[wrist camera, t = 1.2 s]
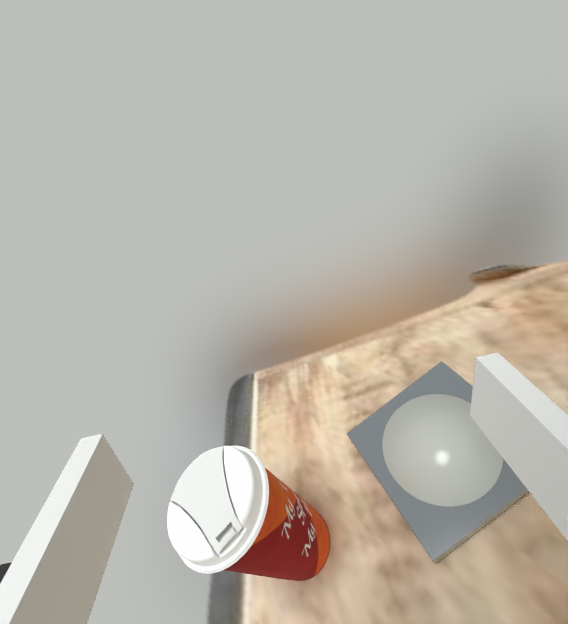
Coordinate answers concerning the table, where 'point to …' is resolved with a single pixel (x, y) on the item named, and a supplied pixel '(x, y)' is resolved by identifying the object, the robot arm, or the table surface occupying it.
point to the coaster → (437, 461)
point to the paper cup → (244, 519)
